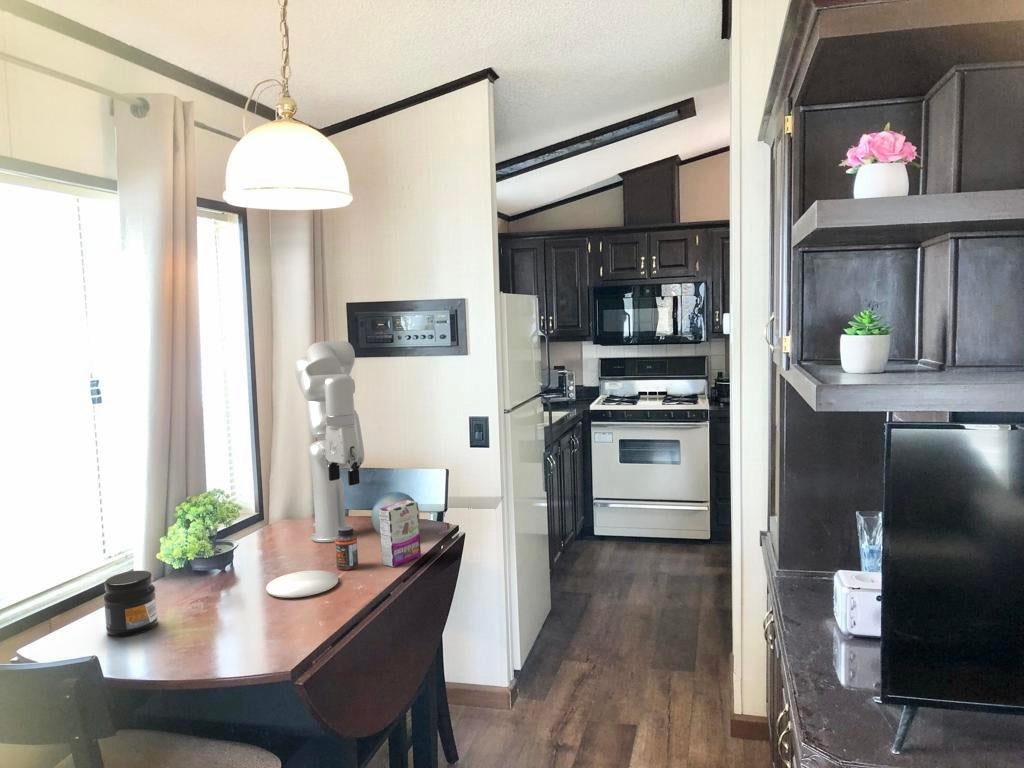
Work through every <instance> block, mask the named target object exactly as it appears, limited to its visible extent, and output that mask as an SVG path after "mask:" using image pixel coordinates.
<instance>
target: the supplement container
mask: <svg viewBox="0 0 1024 768" xmlns="http://www.w3.org/2000/svg"><path fill="white" fill-rule="evenodd" d="M156 589H157V588H156V586H155V584H153V574H152V572H150V571H148V570H131V571H126V572H121V573H118V574H115V575H112V576H110V577H108V578H107V579H106V580H105V581H104V590H105V593H104V594H103V597H102V598H103V602H104V614H105V615H104V616H105V629H106V632H107V634H109V635H111V636H114V637H130V636H129V635H131V636H134V634H135V635H138V633H139V634H143V633H145V632H147V631H149V630H150V629H152V628H153V627H154V626H156V625H157V622H158V621H159V619H158V618H159V617H158V609H157V599H156V597H157V596H156V591H157V590H156ZM144 631H145V632H144Z"/></svg>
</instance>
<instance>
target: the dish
mask: <svg viewBox="0 0 1024 768" xmlns="http://www.w3.org/2000/svg"><path fill="white" fill-rule="evenodd" d="M338 583H339V577H338V575H337V574H336V573H334V572H331V571H327V570H315V569H314V570H303V571H297V572H293V573H292V572H291V573H287V574H284V575H281V576H278V577H276V578H273V580H271V581H269V582H268V584H266V587H265V591H266V593H267V594H269V595H270V596H272V597H278V598H287V599H288V598H302V597H309V596H313V595H317V594H321V593H324V592H326V591H329V590H330V589H333V587H334V588H335V586H337V584H338Z"/></svg>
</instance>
